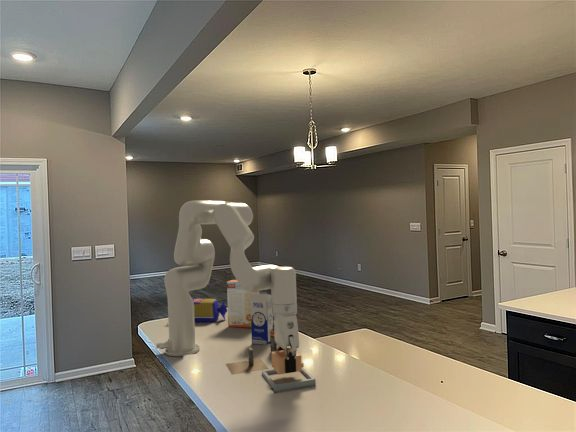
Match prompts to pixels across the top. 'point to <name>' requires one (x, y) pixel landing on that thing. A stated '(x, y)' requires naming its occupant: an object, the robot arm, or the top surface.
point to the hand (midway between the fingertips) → (286, 367)
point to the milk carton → (261, 318)
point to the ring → (279, 361)
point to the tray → (291, 385)
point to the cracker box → (238, 305)
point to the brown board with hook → (247, 364)
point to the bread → (208, 310)
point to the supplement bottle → (272, 340)
